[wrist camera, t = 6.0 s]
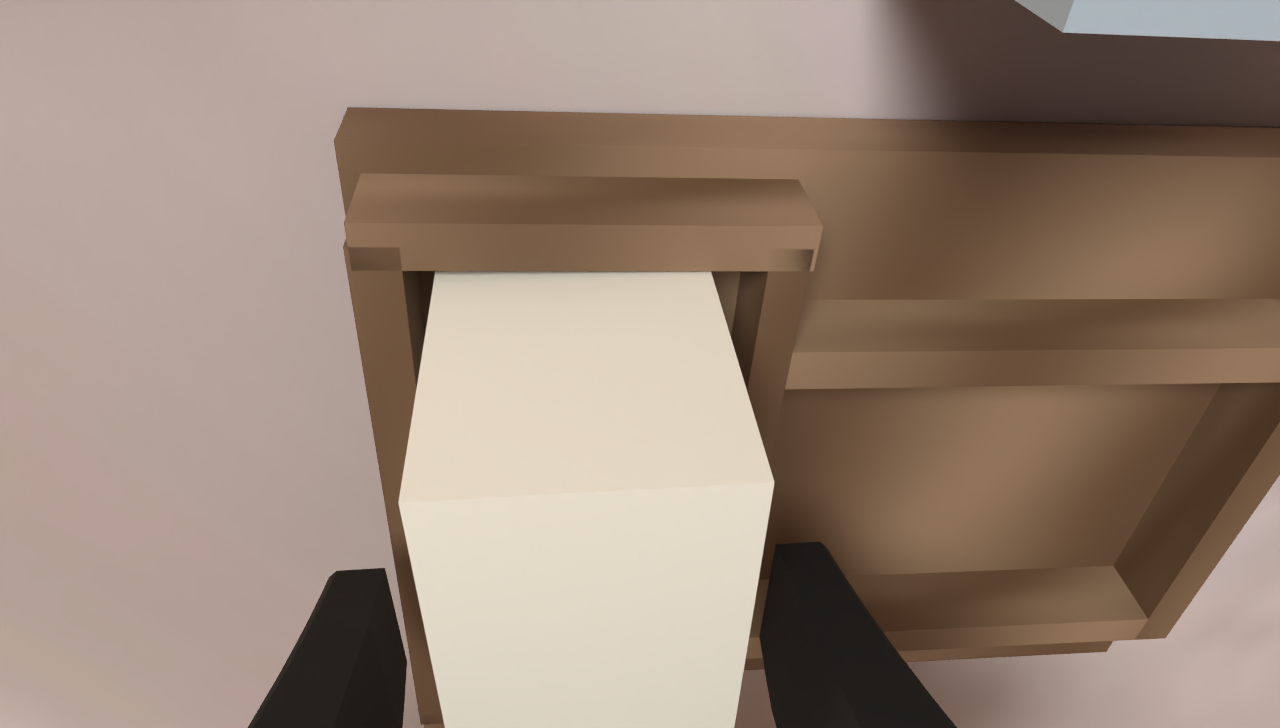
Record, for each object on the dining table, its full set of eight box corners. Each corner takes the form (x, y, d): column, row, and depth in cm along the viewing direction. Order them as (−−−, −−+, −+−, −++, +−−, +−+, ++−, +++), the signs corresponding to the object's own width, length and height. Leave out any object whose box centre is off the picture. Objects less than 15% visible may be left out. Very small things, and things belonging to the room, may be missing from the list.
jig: (1365, 129, 13) (1499, 202, 11) (1082, 611, 19) (1137, 703, 18) (347, 107, 11) (313, 188, 9) (424, 641, 18) (413, 746, 16)
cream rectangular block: (697, 223, 11) (774, 482, 8) (668, 612, 16) (708, 881, 13) (441, 230, 11) (398, 502, 7) (492, 624, 16) (481, 903, 12)
